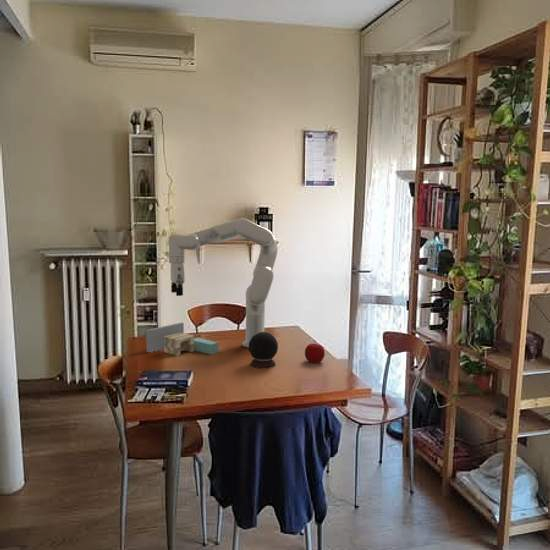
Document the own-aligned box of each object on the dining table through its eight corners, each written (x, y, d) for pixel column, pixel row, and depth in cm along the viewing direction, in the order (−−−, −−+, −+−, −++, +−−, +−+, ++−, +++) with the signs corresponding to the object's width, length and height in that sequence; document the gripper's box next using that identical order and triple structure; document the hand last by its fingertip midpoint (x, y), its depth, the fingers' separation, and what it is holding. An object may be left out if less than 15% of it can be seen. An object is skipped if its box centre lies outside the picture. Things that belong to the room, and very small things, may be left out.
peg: (218, 352, 259) (218, 342, 258) (210, 354, 255) (210, 344, 254) (198, 347, 267) (198, 337, 267) (190, 349, 263) (190, 339, 263)
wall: (183, 344, 272) (183, 323, 270) (148, 353, 255) (148, 330, 253) (181, 343, 273) (181, 322, 271) (146, 352, 256) (146, 330, 254)
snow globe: (258, 358, 249) (259, 327, 247) (282, 363, 243) (283, 331, 241) (242, 365, 238) (243, 333, 236) (267, 371, 231) (268, 337, 229)
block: (194, 351, 259) (194, 335, 258) (176, 355, 251) (176, 339, 249) (181, 347, 265) (181, 332, 264) (164, 352, 256) (164, 336, 255)
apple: (301, 363, 244) (301, 341, 243) (309, 358, 252) (309, 337, 251) (319, 366, 240) (320, 344, 238) (327, 361, 248) (328, 340, 246)
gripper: (188, 261, 255) (189, 296, 258) (179, 257, 271) (180, 290, 273) (173, 261, 252) (173, 297, 255) (165, 258, 268) (165, 291, 270)
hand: (177, 293), depth 264 cm, fingers open, 9 cm apart
